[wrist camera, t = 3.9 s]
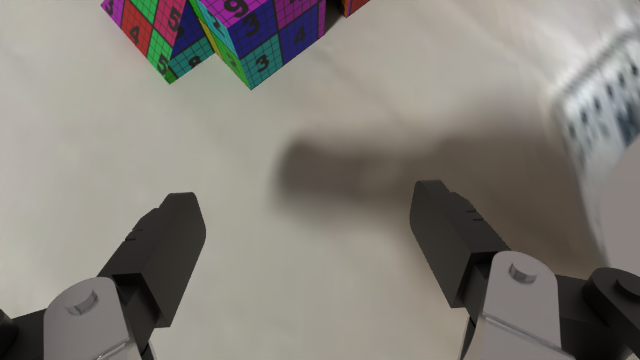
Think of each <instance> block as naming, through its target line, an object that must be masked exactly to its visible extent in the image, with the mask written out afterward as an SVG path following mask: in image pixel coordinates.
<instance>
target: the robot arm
mask: <svg viewBox="0 0 640 360" xmlns="http://www.w3.org/2000/svg"><path fill="white" fill-rule="evenodd" d="M410 226H411V229H412V232H413V234H414V236H415V238H416V240H417V242H418V244H419V246H420V248H421V250H422V252H423V254H424V255H425V257H426V259H427V261H428V263H429V265H430V267H431V269H432V271H433V273H434V275H435V277H436V279H437V281H438V283H439V285H440V287H441V289H442V291H443V293H444V295H445V297H446V299H447V301H448V303H449V305H450V307H451V308H461V307H465V308H466V309H467V311H468V313H469V316H468V319H467V321H466V326H465V330H464V334H463V338H462V343H461V347H460V351H459V356H458V360H626V359H627V358H628V357H629V356H630V355H631V354H632V353H634V354H635V355H636V356H637V357H638V358H639V359H640V277H638V276H636V275H634V274H632V273H629V272H626V271H623V270H619V269H615V268H599V269H596V270H595V271H594V272H593V273H592V275H591V276H590V277H589V279H588V280H582V279H577V278H571V277H566V276H561V275H555V274H553V272H552V271H551V270H550V269H549V268H548V267H547V266H546V265H545V264H543V263H542V262H540V261H539V260H537V259H535V258H533V257H531V256H529V255H526V254H524V253H520V252H516V251H512V250H511V249H510V248H509V247H508V246H507V245H506V244H505V242H504V241H503V240H502V239H501V238H500V237H499V236H498V234H497V233H496V232H495V231H494V230H493V229H492V228H491V226H490V225H489V224H488V223H487V222H486V221H484V218H483V217H482V216H481V215H480V214H479V213H478V212H476V209H475V208H474V207H473V206H472V205H471V204H470V202H469V201H468V200H466V199H465V198H463V197H461V196H460V195H458V194H457V193H455V192H452V193H451V192H450V191H449V190H448V189H447V188H446V186H445V185H444V184H443V183H442V182H441V181H440V180H423V181H417V182H416V184H415V189H414V194H413V200H412V205H411V210H410ZM205 238H206V227H205V223H204V220H203V217H202V214H201V211H200V207H199V204H198V201H197V198H196V196H195V194H194V193H193V192H186V193H170V194H168V195H167V197H166V198H165V200H164V201H163V202H162V204H161V205H160V207H159V208H154V209H153V210H151V211H150V212H149V213H147V214H146V215H145V216H143V217H142V218H141V219H140V220H139V221H138V223H137V224H136V225H135V227H134V228H133V229H132V232H130V233H129V234H128V236H127V237H126V238H125V241H123V242H122V244H121V245H120V246H119V248H118V249H117V250H116V252H115V253H114V254H113V255H112V257H111V258H110V259H109V261H108V262H107V263H106V265H105V266H104V267H103V269H102V270H101V271H100V273H99V274H98V275H97V276H96V277H95V278H90V279H87V280H84V281H81V282H79V283H77V284H75V285H73V286H71V287H69V288H68V289H66V290H65V291H63V292H62V293H61V294H60V295H58V296H57V297H56V298H55V299H54V300H53V301H52V302H51V304H50V305H49V306H48V308H46V309H43V310H40V311H36V312H33V313H30V314H27V315H23V316H20V317H17V318H13V319H10V318H9V317H8V316H7V315H6V314H5V313H4V312H3V311H2V310H1V309H0V360H157V357H156V354H155V351H154V349H153V346H152V343H151V341H150V339H149V338H150V336H151V334H152V332H153V330H154V328H164V327H170V326H171V323H172V321H173V318H174V316H175V313H176V311H177V309H178V306H179V304H180V301H181V299H182V296H183V294H184V291H185V289H186V287H187V284H188V282H189V279H190V277H191V274H192V272H193V270H194V267H195V265H196V262H197V260H198V257H199V255H200V252H201V250H202V248H203V245H204V242H205Z"/></svg>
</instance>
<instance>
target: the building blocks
mask: <svg viewBox="0 0 640 360" xmlns="http://www.w3.org/2000/svg"><path fill="white" fill-rule="evenodd" d="M368 1H370V0H341V7H340V13H341V14H342V15H343V16H344V17H346V18H347V17H349V16H350V15H351V14H353V13H354V12H355V11H357V10H358V9H359V8H361V7H362V6H363V5H365V4H366V3H367V2H368ZM100 6H101V7H102V8H103V9H104V10H105V11H106V12H107V14H108V15H109V16H110V17H111V18H112V19H113V20H114V22H115V23H116V24H117V25H118V26H119V27H120V28H121V30H122V31H123V32H124V33H125V34H126V35H127V36H128V38H129V39H130V40H131V41H132V42H133V43H134V44H135V46H136V47H137V48H138V49H139V50H140V51H141V52H142V54H143V55H144V56H145V57H146V58H147V59H148V60H149V62H150V63H151V64H152V65H153V66H154V67H155V68H156V70H157V71H158V72H159V73H160V74H161V75H162V76H163V77H164V79H165V80H166V81H167V82H168V83H169V84H171V83H173V82H174V81H175V80H177V79H178V78H180V77H181V76H183V75H184V74H185V73H187V72H188V71H190V70H191V69H192V68H194V67H195V66H197V65H198V64H200V63H201V62H202V61H204V60H205V59H207V58H208V57H209V56H211V55H212V54H214V53H215V52H216V53H217V55H218V56H219V57H220V58H221V59H222V60H223V61H224V62H225V63H226V64H227V65H228V66H229V67H230V68H231V69H232V70H233V72H234V73H235V74H236V75H237V76H238V77H239V78H240V79H241V80H242V81H243V82H244V83H245V84H246V85H247V86H248V87H249V89H250V90H252V89H253V88H255V87H256V86H257V85H259V84H260V83H261V82H263V81H264V80H265V79H267V78H268V77H269V76H271V75H272V74H273V73H275V72H276V71H277V70H279V69H280V68H281V67H283V66H284V65H285V64H287V63H288V62H289V61H290V60H292V59H293V58H294V57H296V56H297V55H298V54H300V53H301V52H302V51H304V50H305V49H306V48H308V47H309V46H310V45H312V44H313V43H314V42H316V41H317V40H318V39H320V38H321V37H322V36H324V28H325V8H326V0H104V1H103V3H102V4H101V5H100Z"/></svg>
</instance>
